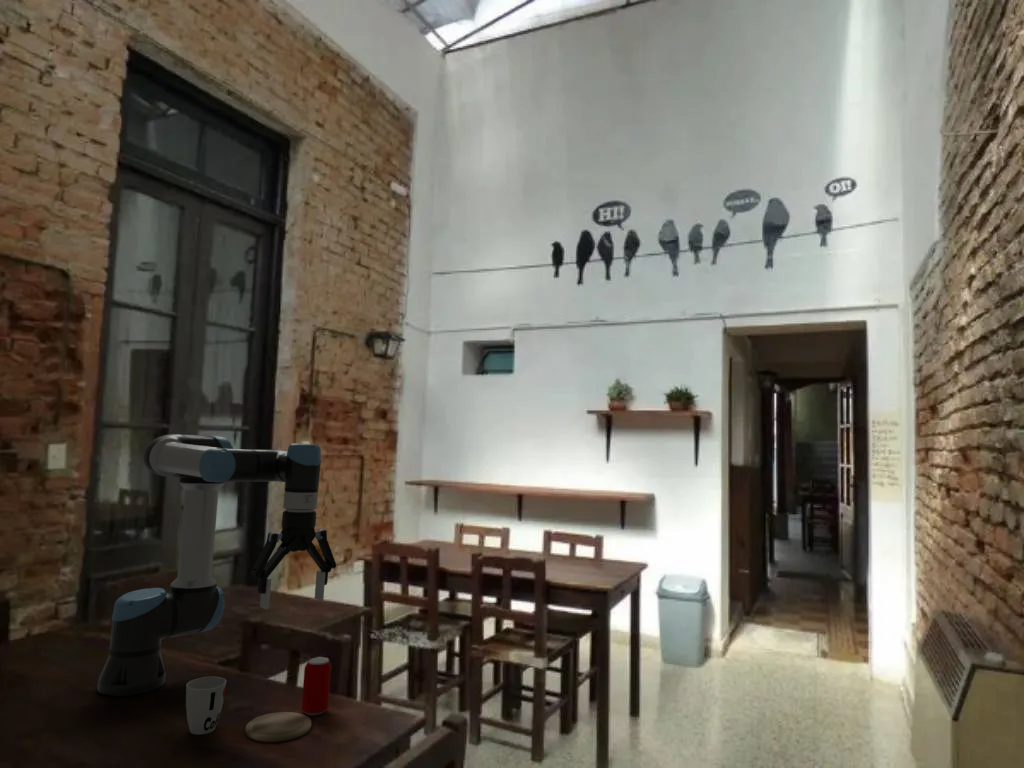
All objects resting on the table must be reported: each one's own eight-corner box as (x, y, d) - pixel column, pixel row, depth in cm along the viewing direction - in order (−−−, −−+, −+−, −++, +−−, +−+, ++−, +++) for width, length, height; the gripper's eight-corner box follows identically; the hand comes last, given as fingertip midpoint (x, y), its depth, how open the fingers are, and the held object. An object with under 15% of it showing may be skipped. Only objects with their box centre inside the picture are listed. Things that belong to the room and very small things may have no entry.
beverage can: (313, 705, 162) (317, 654, 163) (333, 710, 159) (336, 659, 160) (295, 713, 156) (299, 661, 158) (315, 719, 154) (319, 666, 155)
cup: (206, 739, 141) (210, 691, 142) (173, 734, 143) (178, 686, 143) (230, 724, 149) (233, 679, 150) (198, 720, 150) (202, 674, 151)
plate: (233, 728, 147) (233, 724, 147) (288, 710, 158) (288, 706, 158) (267, 748, 138) (268, 743, 138) (323, 728, 149) (323, 724, 149)
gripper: (256, 514, 141) (247, 615, 139) (354, 509, 160) (348, 599, 158) (240, 510, 146) (231, 608, 144) (337, 506, 165) (331, 593, 163)
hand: (292, 603), depth 151 cm, fingers open, 13 cm apart
